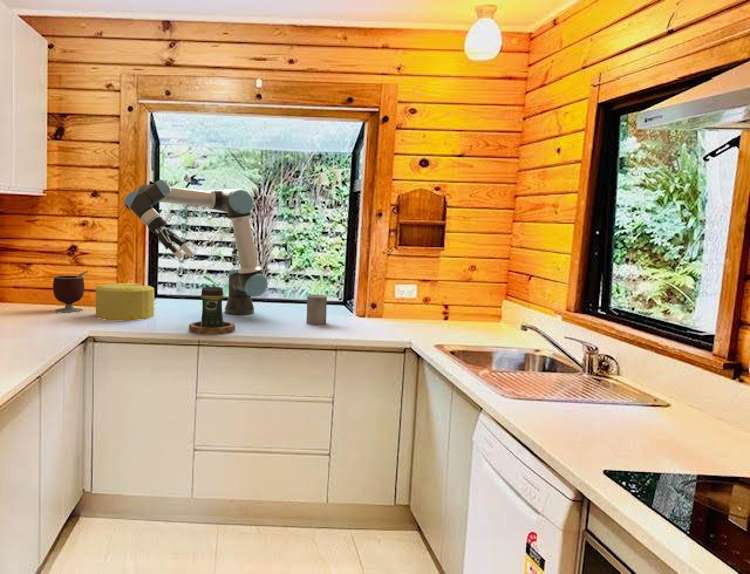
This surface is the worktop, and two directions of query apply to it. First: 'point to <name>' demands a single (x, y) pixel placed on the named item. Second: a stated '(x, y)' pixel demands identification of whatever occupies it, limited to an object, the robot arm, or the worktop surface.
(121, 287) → the cheese
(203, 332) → the tray
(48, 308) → the worktop surface
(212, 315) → the coffee jar
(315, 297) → the pillar candle
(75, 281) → the mate gourd
